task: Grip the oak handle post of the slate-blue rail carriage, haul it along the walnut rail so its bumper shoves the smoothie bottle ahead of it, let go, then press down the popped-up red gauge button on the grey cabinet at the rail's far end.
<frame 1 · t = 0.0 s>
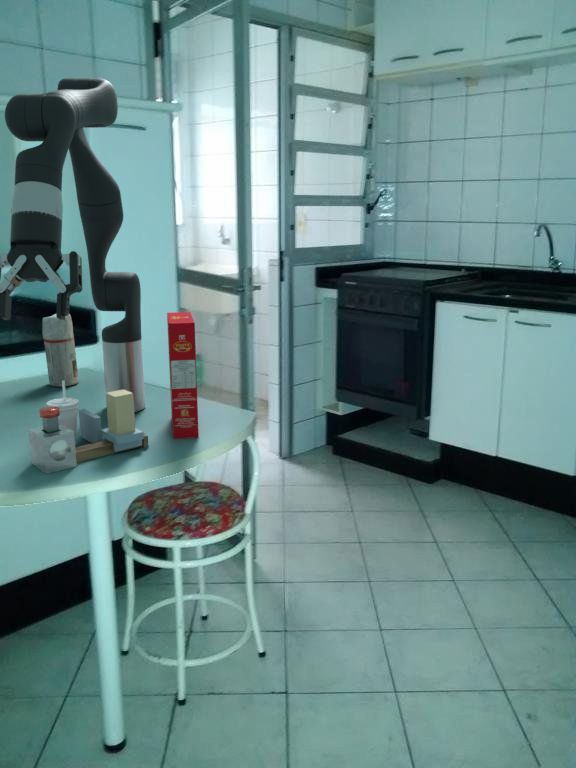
hand: (33, 318, 106), 31 cm above the table, tool tilted 20°, fingers open, 8 cm apart
food packaging: (184, 428, 155), on the table
gauge cabinet: (54, 464, 133), on the table
smoothie: (66, 447, 143), on the table
gauge button: (50, 427, 131), point 8 cm above the table, slide at 0.0 cm
rail: (104, 452, 139), on the table
spray can: (63, 384, 192), on the table
carriage: (110, 415, 143), point 6 cm above the table, slide at 0.0 cm
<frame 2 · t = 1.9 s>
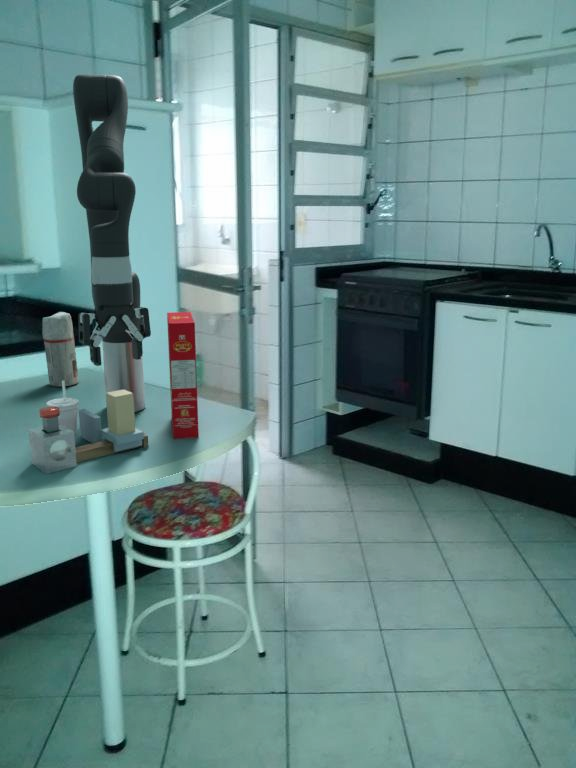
hand: (117, 362, 137), 18 cm above the table, tool pointing down, fingers open, 8 cm apart
nothing on the table moved.
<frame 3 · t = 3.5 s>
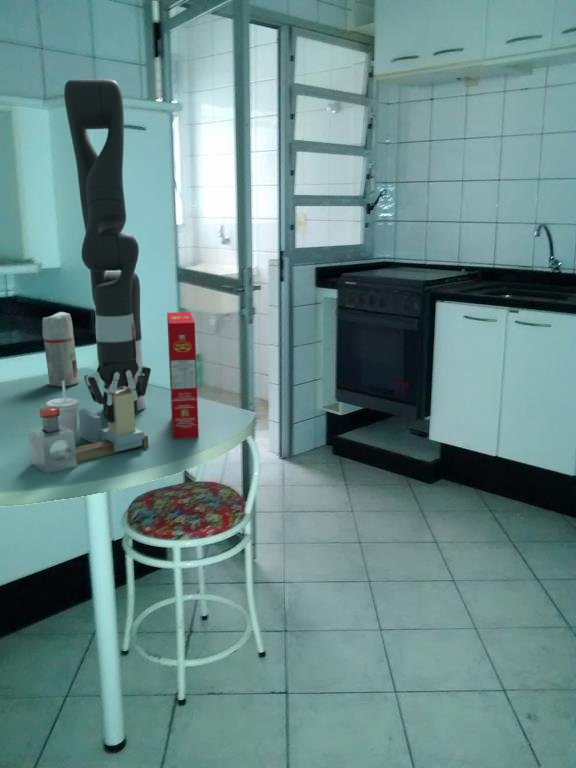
hand: (121, 419, 140), 6 cm above the table, tool pointing down, fingers closed on carriage, 4 cm apart
carriage: (110, 415, 143), point 6 cm above the table, slide at 0.0 cm, touching gripper
everything else where it was.
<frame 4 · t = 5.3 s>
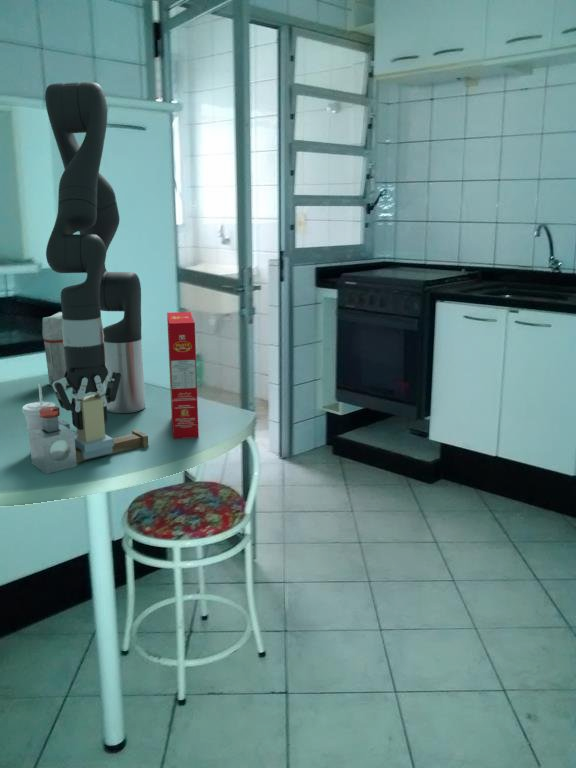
hand: (90, 425, 136), 6 cm above the table, tool pointing down, fingers closed on carriage, 4 cm apart
smoothie: (43, 452, 140), on the table, touching carriage
carriage: (79, 422, 139), point 6 cm above the table, slide at 6.6 cm, touching gripper, smoothie
everything else where it was.
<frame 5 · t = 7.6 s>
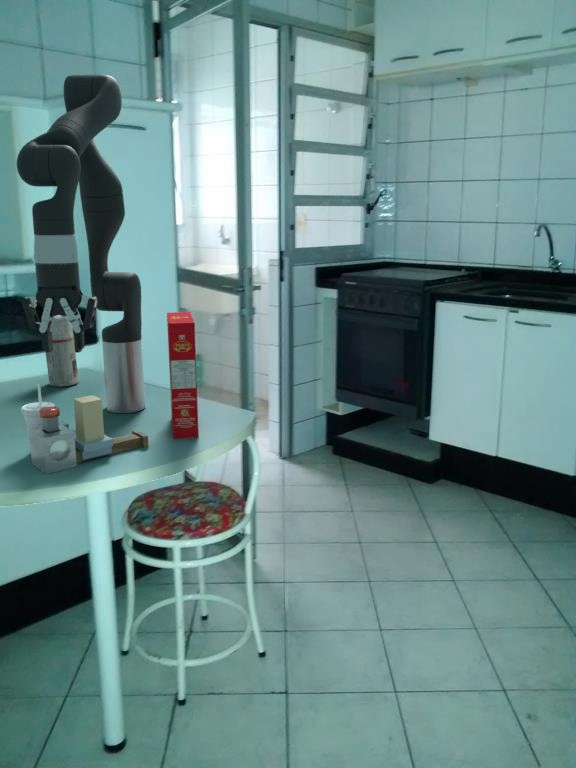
hand: (63, 351, 129), 22 cm above the table, tool pointing down, fingers open, 5 cm apart
smoothie: (42, 452, 140), on the table
carriage: (78, 422, 138), point 6 cm above the table, slide at 6.8 cm
everything else where it was.
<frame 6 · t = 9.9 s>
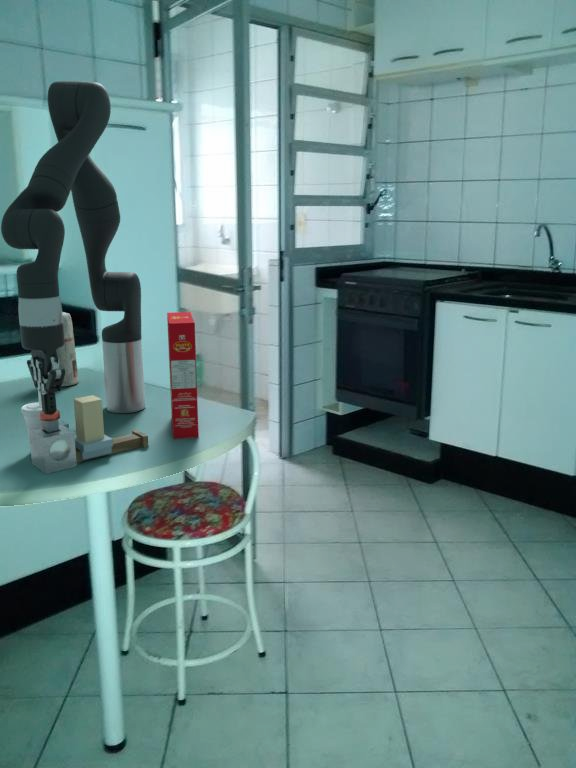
hand: (49, 412, 130), 11 cm above the table, tool pointing down, fingers closed
gauge button: (51, 430, 131), point 7 cm above the table, slide at 0.6 cm, touching gripper
everything else where it was.
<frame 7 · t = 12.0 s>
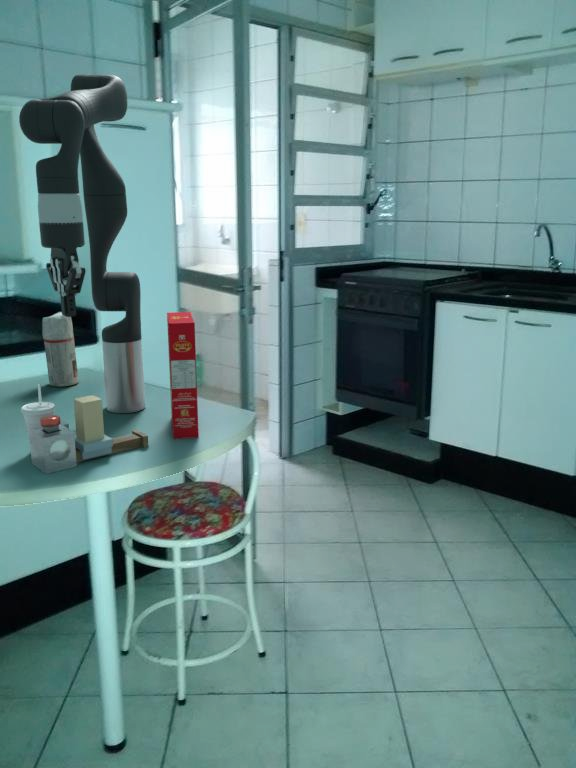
hand: (69, 315, 128), 29 cm above the table, tool pointing down, fingers closed
gauge button: (51, 436, 131), point 6 cm above the table, slide at 1.8 cm
everything else where it was.
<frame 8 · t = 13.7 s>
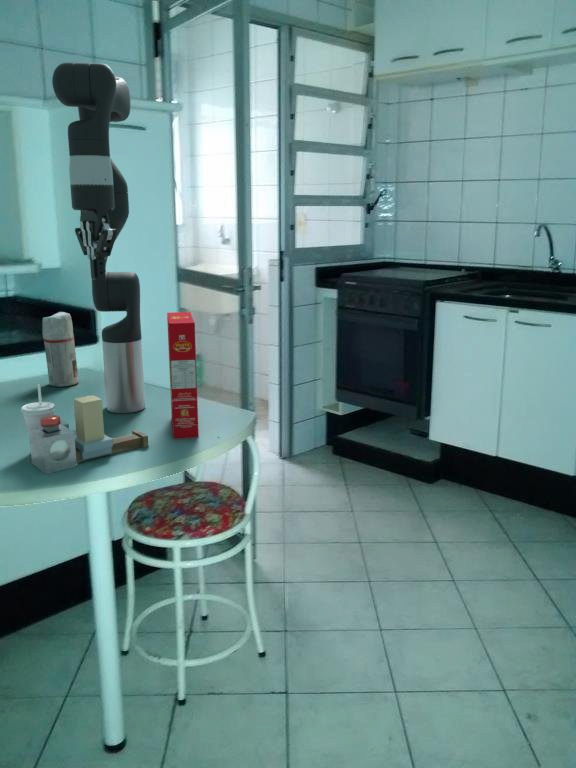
hand: (98, 279, 128), 35 cm above the table, tool pointing down, fingers closed
nothing on the table moved.
at the end: carriage slide at 6.8 cm; smoothie inside the target area (2.8 cm from its centre), on the table; gauge button slide at 1.8 cm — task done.
